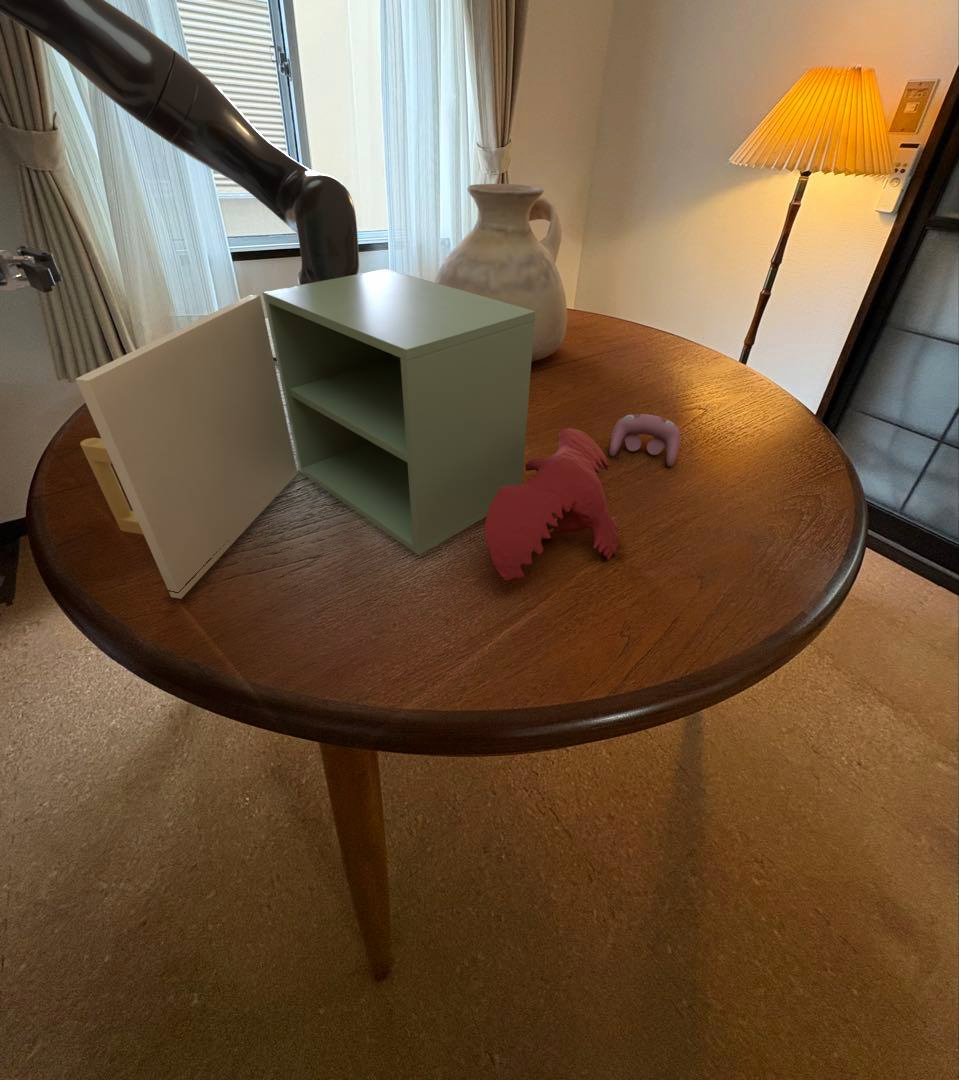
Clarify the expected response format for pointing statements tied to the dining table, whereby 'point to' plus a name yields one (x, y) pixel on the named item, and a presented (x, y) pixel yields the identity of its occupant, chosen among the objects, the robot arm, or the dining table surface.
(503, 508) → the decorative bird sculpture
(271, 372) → the door
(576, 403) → the dining table surface
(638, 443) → the video game controller
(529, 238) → the jug
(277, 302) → the cupboard
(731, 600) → the dining table surface
